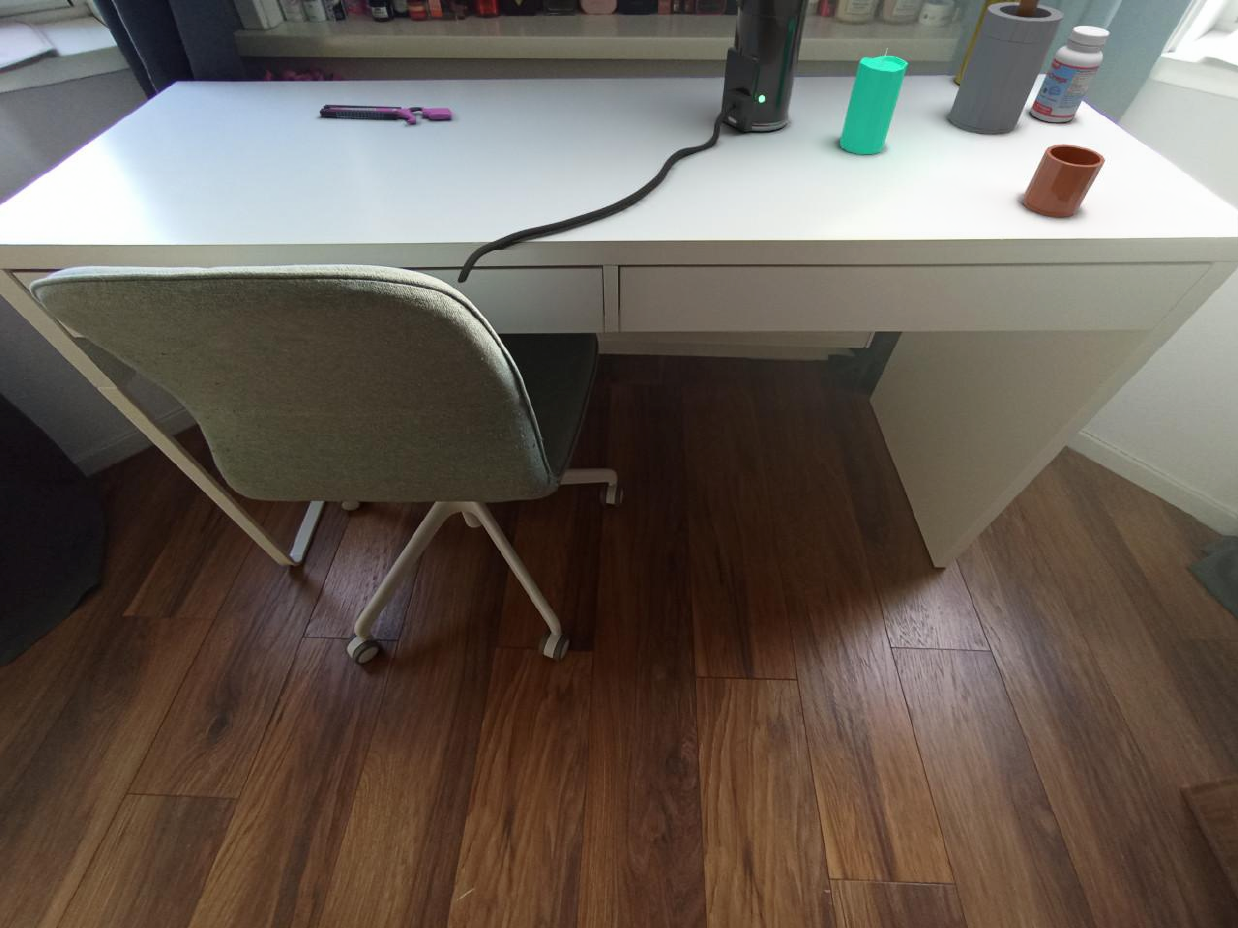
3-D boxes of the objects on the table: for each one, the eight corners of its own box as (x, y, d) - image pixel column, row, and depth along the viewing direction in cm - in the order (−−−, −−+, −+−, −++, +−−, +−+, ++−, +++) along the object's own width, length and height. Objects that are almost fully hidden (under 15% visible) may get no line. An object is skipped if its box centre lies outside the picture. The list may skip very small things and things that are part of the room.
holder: (1056, 222, 76) (1083, 171, 71) (1011, 201, 79) (1034, 151, 75) (1087, 209, 78) (1116, 159, 73) (1042, 189, 81) (1067, 140, 77)
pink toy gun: (455, 106, 98) (447, 120, 95) (456, 112, 98) (448, 127, 95) (326, 101, 99) (314, 115, 96) (328, 108, 100) (316, 122, 97)
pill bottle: (1021, 109, 99) (1058, 25, 91) (1058, 108, 100) (1099, 23, 91) (1042, 124, 95) (1082, 37, 87) (1080, 123, 96) (1125, 36, 87)
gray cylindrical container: (986, 139, 92) (1033, 25, 81) (935, 117, 97) (973, 8, 87) (1028, 126, 95) (1078, 14, 84) (976, 106, 100) (1017, -1, 90)
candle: (884, 140, 92) (912, 44, 83) (881, 157, 88) (910, 58, 79) (841, 135, 93) (865, 39, 84) (837, 151, 89) (861, 53, 80)
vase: (995, 90, 105) (1038, -16, 94) (956, 88, 106) (994, -18, 95) (989, 78, 109) (1029, -25, 98) (951, 75, 110) (987, -27, 99)
